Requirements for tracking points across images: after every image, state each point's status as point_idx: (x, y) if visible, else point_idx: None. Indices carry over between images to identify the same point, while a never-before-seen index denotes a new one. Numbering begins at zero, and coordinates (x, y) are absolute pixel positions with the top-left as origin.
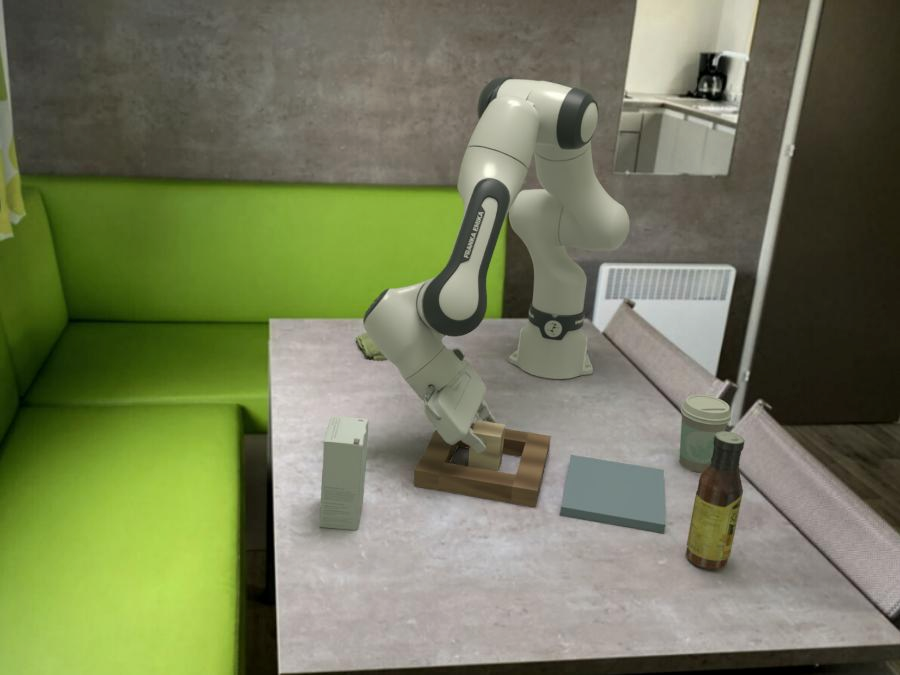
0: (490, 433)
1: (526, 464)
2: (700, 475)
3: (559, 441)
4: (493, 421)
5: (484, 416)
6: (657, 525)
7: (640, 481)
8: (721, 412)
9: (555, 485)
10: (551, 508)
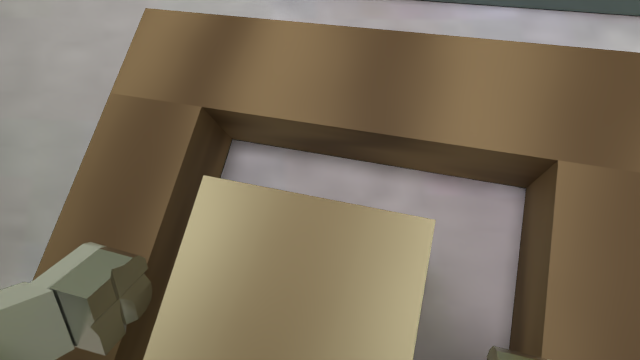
0: (374, 308)
1: (429, 107)
2: None
3: (116, 19)
4: (122, 264)
5: (50, 334)
6: None
7: None
8: None
9: (440, 33)
10: (636, 48)
